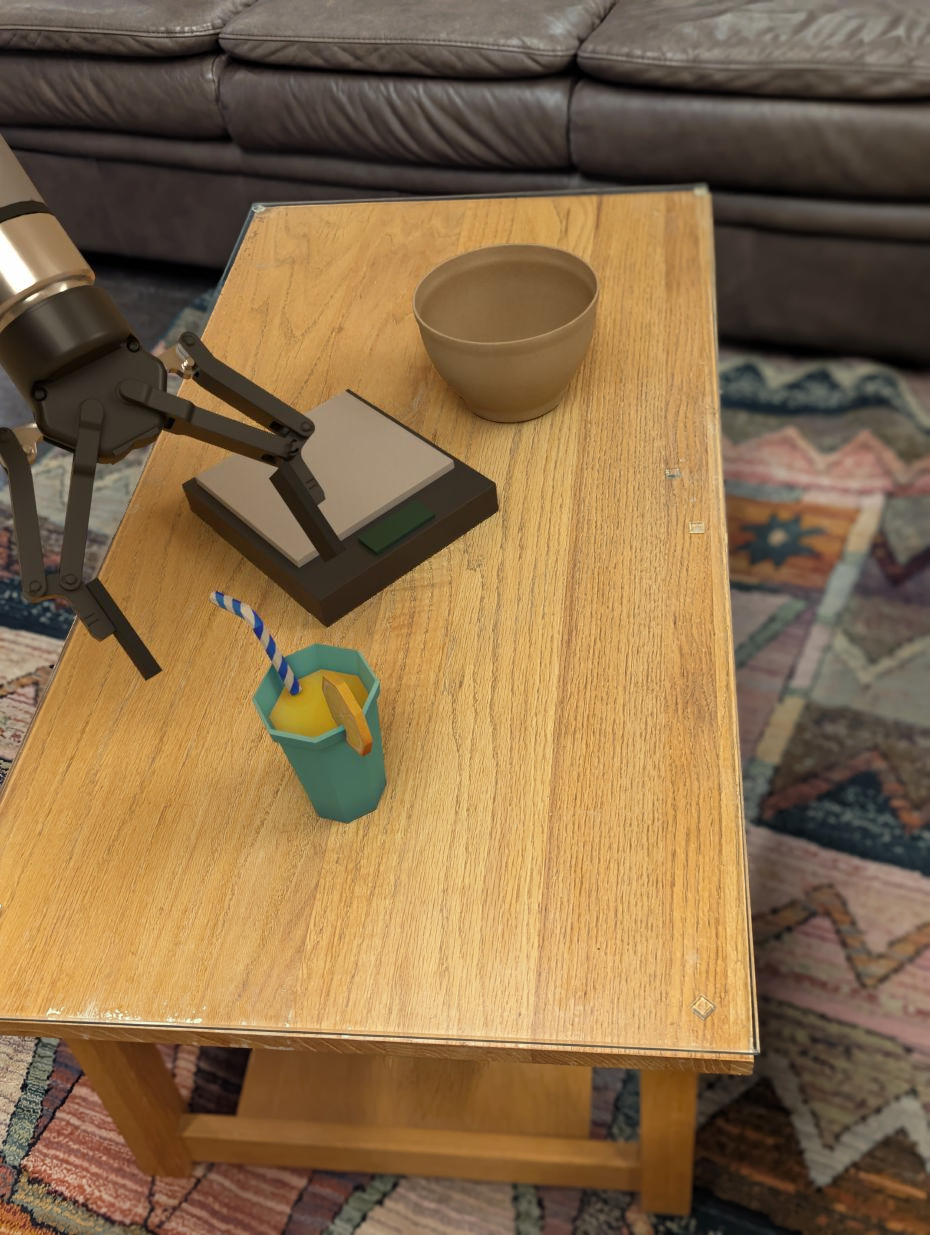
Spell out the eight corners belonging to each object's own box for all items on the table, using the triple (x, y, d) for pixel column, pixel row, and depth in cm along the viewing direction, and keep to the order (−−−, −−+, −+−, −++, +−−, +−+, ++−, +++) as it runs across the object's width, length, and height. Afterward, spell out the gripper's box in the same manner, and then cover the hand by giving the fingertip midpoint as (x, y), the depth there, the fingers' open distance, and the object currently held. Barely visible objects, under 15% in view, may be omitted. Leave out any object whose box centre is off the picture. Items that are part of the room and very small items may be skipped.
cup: (226, 771, 74) (159, 624, 63) (306, 698, 78) (256, 548, 67) (373, 880, 67) (327, 736, 56) (453, 794, 71) (424, 644, 60)
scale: (326, 627, 82) (317, 593, 80) (190, 510, 94) (178, 477, 91) (499, 510, 90) (495, 475, 87) (353, 414, 101) (346, 380, 98)
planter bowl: (475, 332, 108) (464, 230, 100) (626, 362, 102) (627, 256, 94) (396, 425, 99) (377, 321, 91) (557, 465, 93) (551, 357, 85)
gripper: (209, 256, 72) (384, 523, 75) (-152, 432, 62) (65, 733, 65) (232, 203, 65) (423, 499, 68) (-169, 392, 55) (73, 730, 58)
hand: (249, 614), depth 66 cm, fingers open, 13 cm apart
